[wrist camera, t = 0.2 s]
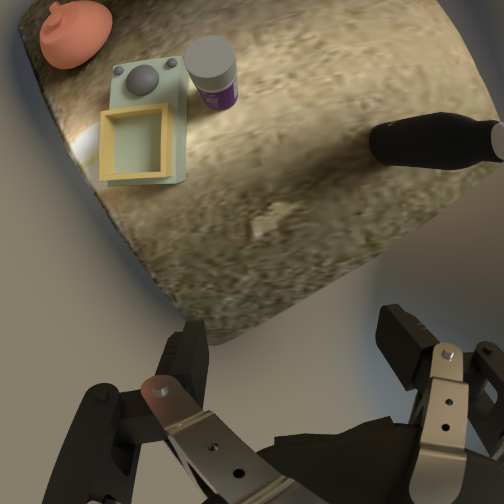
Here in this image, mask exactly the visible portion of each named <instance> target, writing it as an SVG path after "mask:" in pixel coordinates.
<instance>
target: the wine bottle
mask: <svg viewBox="0 0 504 504" xmlns="http://www.w3.org/2000/svg"><path fill="white" fill-rule="evenodd" d="M369 142H370V149H371V151H372V153H373V155H374V156H375V158H376V159H377V160H378V161H380V162H381V163H383V164H386V165H394V166H409V167H421V168H431V169H441V170H458V169H463V168H468V167H470V166H472V165H475V164H477V163H479V162H482V161H490V162H499V163H502V162H504V123H501V122H499V121H495V120H488V121H476V120H474V119H471V118H469V117H466V116H463V115H459V114H453V113H445V112H438V113H432V114H427V115H421V116H416V117H411V118H406V119H401V120H397V121H392V122H388V123H383V124H380V125H378V126H376V127H375V128H374V129H373V131H372V133H371V135H370V141H369Z"/></svg>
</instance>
